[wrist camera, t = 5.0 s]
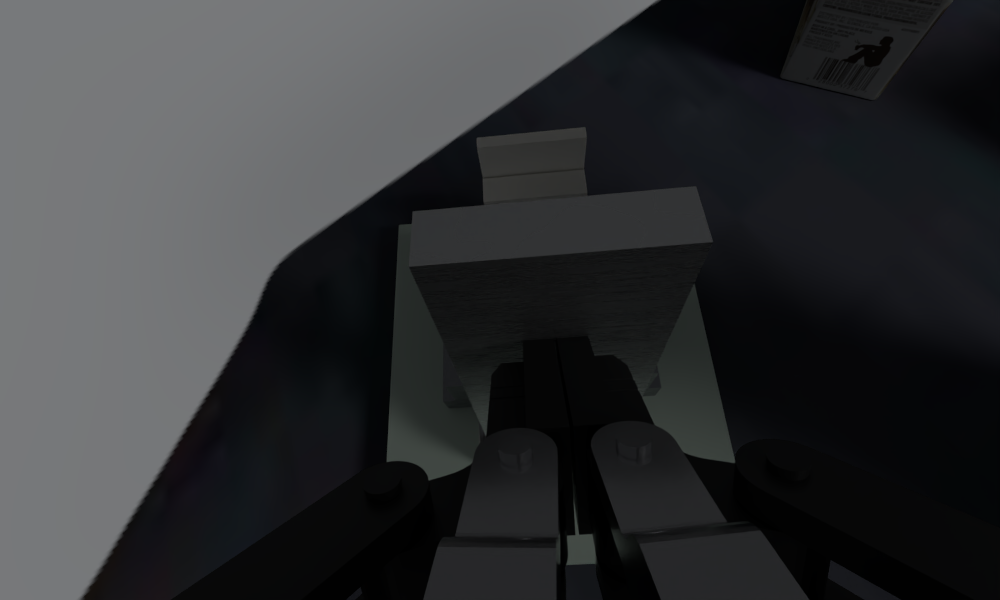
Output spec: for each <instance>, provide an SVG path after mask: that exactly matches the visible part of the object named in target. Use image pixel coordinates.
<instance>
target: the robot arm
mask: <svg viewBox="0 0 1000 600" xmlns="http://www.w3.org/2000/svg"><path fill="white" fill-rule="evenodd" d="M556 352H557V353H556ZM523 359H524V361H522V362H509V363H501V364H500V365H499V367H498V368H497V369H496V370H495V371H494V372H493V374H492V375H491V387H490V388H491V390H490V398H489V399H490V401H489V409H488V421H487V432H486V438H485V439H484V440H483V441H482V442H481V443H480V444H479V445H478V447H477V448H476V450H475V453H474V458H473V462H472V463H471V464H470V465H469V466H467V467H465V468H464V469H462V470H460V471H457V472H455V473H452V474H449V475H446V476H442V477H439V478H436V479H432V480H428V476H427V474H426V472H425V471H424V470H423V469H422V468H421V467H420V466H418V465H416V464H414V463H410V462H406V461H390V462H384V463H380V464H377V465H374V466H371V467H369V468H367V469H365V470H363V471H361V472H359V473H358V474H356V475H355V476H353V477H352V478H350V479H349V480H347V481H346V482H344V483H343V484H342V485H340V486H339V487H337V488H336V489H334V490H333V491H331V492H330V493H328V494H327V495H325V496H324V497H322V498H321V499H319V500H318V501H316V502H315V503H313V504H312V505H310V506H309V507H307V508H306V509H305V510H303V511H302V512H300V513H299V514H297V515H296V516H294V517H293V518H291V519H290V520H288V521H287V522H285V523H284V524H282V525H281V526H279V527H278V528H276V529H275V530H273V531H272V532H271V533H269V534H268V535H266V536H265V537H263V538H262V539H260V540H259V541H257V542H256V543H254V544H253V545H251V546H250V547H248V548H247V549H245V550H244V551H242V552H241V553H239V554H238V555H237V556H235V557H234V558H232V559H231V560H229V561H228V562H226V563H225V564H223V565H222V566H220V567H219V568H217V569H216V570H214V571H213V572H211V573H210V574H208V575H207V576H205V577H204V578H202V579H201V580H200V581H198V582H197V583H195V584H194V585H192V586H191V587H189V588H188V589H186V590H185V591H183V592H182V593H180V594H179V595H177V596H176V597H174V598H173V599H171V600H346V599H347V598H348V597H349V596H351V595H352V594H353V593H354V592H355V591H356V590H357V589H359V588H360V587H361V590H362V594H361V595H360V596H359V597H358V598H357V599H356V600H566V572H565V566H566V564H567V560H568V543H567V536H571V535H575V517H574V505H575V512H576V518H577V525H578V531H579V535H586V534H592V535H593V541H594V546H595V565H596V575H597V579H598V583H599V587H600V591H601V594H602V598H603V600H864V599H862V598H860V597H858V596H857V595H855V594H853V593H852V592H850V591H848V590H847V589H845V588H843V587H842V586H840V585H838V584H837V583H835V582H833V581H832V580H830V579H828V572H829V566H830V560H832V561H834V562H836V563H837V564H839V565H841V566H843V567H845V568H846V569H848V570H850V571H852V572H853V573H855V574H857V575H859V576H860V577H862V578H864V579H866V580H868V581H869V582H871V583H873V584H875V585H876V586H878V587H880V588H882V589H883V590H885V591H887V592H889V593H891V594H892V595H894V596H896V597H898V598H899V599H901V600H1000V527H997V526H995V525H992V524H990V523H988V522H985V521H983V520H981V519H978V518H976V517H973V516H971V515H969V514H966V513H964V512H961V511H959V510H957V509H954V508H952V507H950V506H947V505H945V504H942V503H940V502H938V501H935V500H933V499H931V498H928V497H926V496H923V495H921V494H919V493H916V492H914V491H912V490H909V489H907V488H904V487H902V486H900V485H897V484H895V483H893V482H890V481H888V480H885V479H883V478H881V477H878V476H876V475H873V474H871V473H869V472H866V471H864V470H862V469H859V468H857V467H854V466H852V465H850V464H847V463H845V462H843V461H840V460H838V459H835V458H833V457H831V456H828V455H826V454H824V453H821V452H819V451H816V450H814V449H812V448H809V447H807V446H804V445H801V444H798V443H794V442H790V441H785V440H777V439H763V440H756V441H752V442H749V443H747V444H745V445H743V446H742V447H741V448H740V449H739V450H738V451H737V453H736V457H735V463H730V462H724V461H717V460H710V459H705V458H699V457H696V456H692V455H689V454H686V453H684V452H683V451H682V450H681V448H680V446H679V445H678V443H677V442H676V440H675V439H674V438H673V436H672V435H670V434H669V433H668V432H667V431H665V430H664V429H662V428H660V427H658V426H655V425H654V422H653V420H652V418H651V416H650V414H649V411H648V409H647V407H646V405H645V403H644V400H643V398H642V396H641V394H640V392H639V391H638V387H637V385H636V383H635V381H634V380H633V376H632V374H631V372H630V370H629V368H628V365H627V364H625V363H624V362H622V361H621V360H620V359H618V358H617V357H615V356H614V355H604V356H594V353H593V350H592V347H591V344H590V341H589V338H588V336H581V337H567V338H556V348H555V342H554V339H540V340H527V341H523Z"/></svg>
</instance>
